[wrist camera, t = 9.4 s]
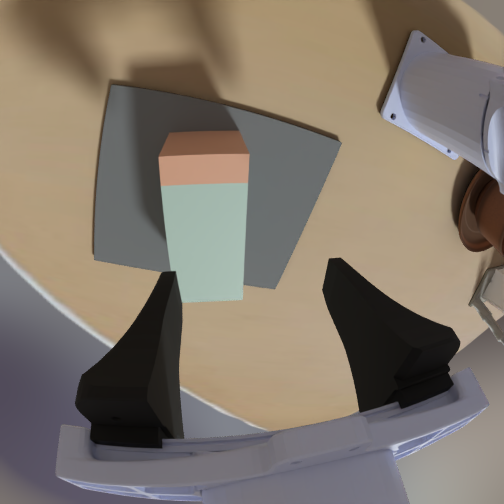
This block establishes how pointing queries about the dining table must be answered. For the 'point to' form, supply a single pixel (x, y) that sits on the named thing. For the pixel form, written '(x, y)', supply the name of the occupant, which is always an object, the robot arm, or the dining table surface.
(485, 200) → the cup and saucer
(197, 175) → the green and orange block
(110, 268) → the dining table surface
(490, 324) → the skyscraper
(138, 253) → the rubber mat
